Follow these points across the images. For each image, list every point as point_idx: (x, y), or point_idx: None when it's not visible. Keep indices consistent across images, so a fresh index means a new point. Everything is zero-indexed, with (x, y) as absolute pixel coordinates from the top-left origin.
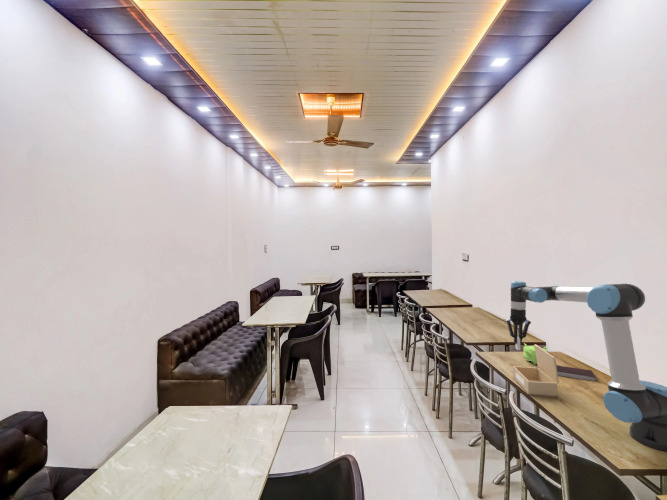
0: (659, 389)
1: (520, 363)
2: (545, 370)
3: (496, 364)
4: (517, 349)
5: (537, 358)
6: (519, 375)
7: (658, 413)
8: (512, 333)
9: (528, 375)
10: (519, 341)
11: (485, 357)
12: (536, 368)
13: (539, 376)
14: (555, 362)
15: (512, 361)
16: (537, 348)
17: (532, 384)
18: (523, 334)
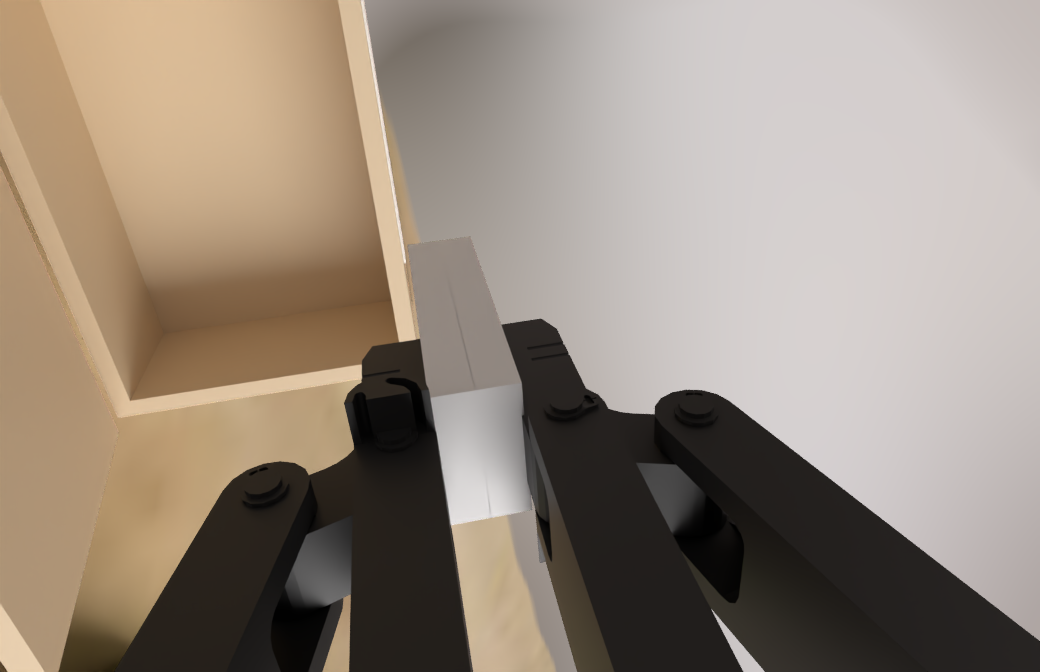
0: None
1: None
2: (13, 232)
3: (492, 557)
4: (468, 241)
5: (84, 480)
6: (386, 155)
7: None
8: (762, 474)
9: (252, 334)
10: (444, 346)
11: (546, 660)
12: (141, 396)
13: (132, 306)
14: None
15: (337, 659)
16: (12, 567)
17: None
18: (284, 627)
